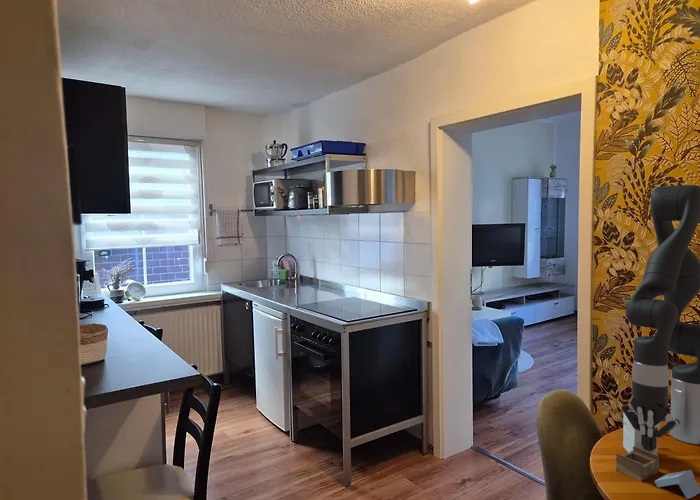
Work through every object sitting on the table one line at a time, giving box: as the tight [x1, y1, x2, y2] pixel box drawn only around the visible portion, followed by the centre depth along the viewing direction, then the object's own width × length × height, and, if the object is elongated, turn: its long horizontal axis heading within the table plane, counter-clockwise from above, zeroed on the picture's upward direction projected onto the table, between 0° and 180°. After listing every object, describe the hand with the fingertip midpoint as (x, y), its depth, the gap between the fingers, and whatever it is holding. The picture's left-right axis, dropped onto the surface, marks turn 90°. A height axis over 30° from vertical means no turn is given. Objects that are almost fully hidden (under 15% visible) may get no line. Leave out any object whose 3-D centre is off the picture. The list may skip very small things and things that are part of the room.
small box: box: [622, 411, 658, 455], centre depth 125 cm, size 8×6×10 cm
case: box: [615, 446, 660, 482], centre depth 117 cm, size 8×6×4 cm
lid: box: [654, 469, 700, 500], centre depth 109 cm, size 6×6×5 cm
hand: (648, 449), depth 114 cm, fingers closed
